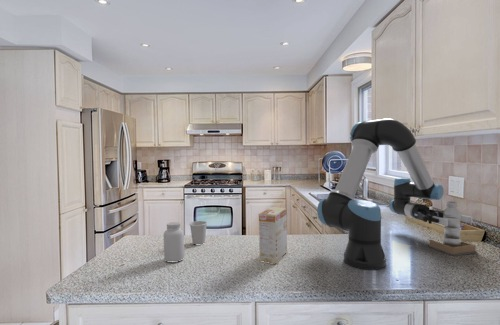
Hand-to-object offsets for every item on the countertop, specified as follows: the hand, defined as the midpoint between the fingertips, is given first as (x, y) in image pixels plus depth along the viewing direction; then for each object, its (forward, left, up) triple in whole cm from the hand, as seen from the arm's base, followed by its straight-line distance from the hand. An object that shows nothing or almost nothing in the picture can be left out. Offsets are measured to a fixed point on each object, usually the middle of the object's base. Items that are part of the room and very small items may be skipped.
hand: (459, 221), depth 116 cm
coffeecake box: (-76, +17, -13) cm, 79 cm away
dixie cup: (-105, +44, -13) cm, 115 cm away
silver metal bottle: (0, +3, -13) cm, 13 cm away
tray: (0, +3, -13) cm, 13 cm away
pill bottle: (-116, +26, -13) cm, 120 cm away
